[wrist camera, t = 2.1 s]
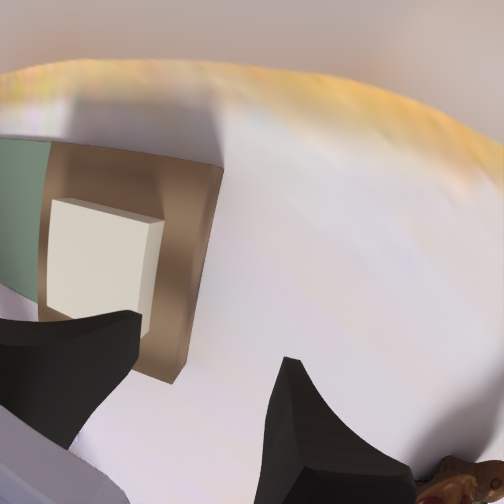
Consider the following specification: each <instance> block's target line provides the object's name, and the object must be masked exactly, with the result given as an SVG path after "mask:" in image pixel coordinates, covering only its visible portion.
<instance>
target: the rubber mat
mask: <svg viewBox="0 0 504 504" xmlns="http://www.w3.org/2000/svg"><path fill="white" fill-rule="evenodd" d="M50 147H51V142H40V141H28V140H15V139H0V283H1V284H3V285H5V286H6V287H8V288H10V289H12V290H13V291H15V292H17V293H19V294H21V295H23V296H24V297H26V298H28V299H30V300H32V301H34V302H36V303H38V292H37V268H38V241H39V227H40V215H41V205H42V197H43V189H44V182H45V175H46V169H47V163H48V158H49V152H50Z"/></svg>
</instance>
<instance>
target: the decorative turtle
mask: <svg viewBox="0 0 504 504" xmlns="http://www.w3.org/2000/svg"><path fill="white" fill-rule="evenodd" d="M415 485H416V488H417V493H418V497H417V500H416V503H415V504H488V503H492V502H495V501H498V500H500V499H501V498H503V497H504V461H501V460H489V461H484V462H479V463H467V462H464V461H461V460H459V459H457V458H455V457H452V456H448V457H445V458H444V459H443V460H442V461H441V463H440V464H439V467H438V469H437V471H436V473H435V475H434V477H433V478H432V480H431V481H430V482H421V481H416V482H415Z"/></svg>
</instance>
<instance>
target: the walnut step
mask: <svg viewBox="0 0 504 504" xmlns="http://www.w3.org/2000/svg"><path fill="white" fill-rule="evenodd" d="M223 173H224V169H222V168H219V167H216V166H213V165H209V164H204V163H199V162H194V161H188V160H183V159H177V158H171V157H166V156H160V155H153V154H147V153H141V152H134V151H128V150H121V149H113V148H106V147H98V146H90V145H81V144H72V143H63V142H53V141H52V142H51V147H50V152H49V158H48V163H47V169H46V175H45V182H44V189H43V197H42V205H41V215H40V227H39V241H38V268H37V292H38V319H39V322H51V321H64V320H71V319H73V318H71V317H69V316H67V315H65V314H63V313H61V312H59V311H56V310H54V309H52V308H50V307H48V306H47V257H48V240H49V227H50V216H51V207H52V199H64V198H75V199H79V200H83V201H87V202H91V203H95V204H100V205H104V206H108V207H112V208H116V209H120V210H124V211H128V212H133V213H137V214H141V215H145V216H149V217H153V218H157V219H161V220H165V222H164V228H163V233H162V239H161V245H160V251H159V258H158V264H157V271H156V278H155V285H154V292H153V300H152V308H151V316H150V325H149V331H148V332H147V333H146V334H145V335H144V336H143V337H142V338H141V339H140V348H139V358H138V360H137V361H136V363H135V364H134V366H133V368H132V370H135V371H137V372H140V373H142V374H145V375H148V376H150V377H153V378H155V379H158V380H161V381H164V382H166V383H169V384H173V382H174V381H175V379H176V378H177V376H178V375H179V373H180V372H181V370H182V369H183V367H184V366H185V364H186V361H187V355H188V349H189V343H190V337H191V331H192V325H193V320H194V314H195V309H196V303H197V298H198V292H199V287H200V282H201V277H202V271H203V266H204V261H205V256H206V251H207V246H208V241H209V237H210V232H211V227H212V222H213V218H214V213H215V208H216V204H217V199H218V195H219V190H220V186H221V181H222V177H223Z"/></svg>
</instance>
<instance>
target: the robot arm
mask: <svg viewBox="0 0 504 504" xmlns="http://www.w3.org/2000/svg"><path fill="white" fill-rule="evenodd" d="M142 316H143V314H140V313H137V312H135V311H132V310H121V311H115V312H110V313H105V314H100V315H95V316H90V317H84V318H78V319H71V320H64V321H51V322H31V321H15V320H8V319H1V318H0V504H130V502H129V500H128V498H127V496H126V494H125V492H124V491H123V490H122V489H121V488H120V487H119V486H117V485H116V484H115V483H114V482H113V481H112V480H111V479H110V478H109V477H108V476H107V475H105V474H104V473H102V472H101V471H99V470H98V469H96V468H95V467H93V466H92V465H90V464H89V463H87V462H86V461H84V460H82V459H81V458H79V457H77V456H75V455H74V454H72V453H70V452H68V451H67V450H68V449H69V447H70V445H71V444H72V442H75V443H78V441H79V438H78V433H79V431H80V430H81V428H82V427H83V425H84V424H85V423H86V421H87V420H88V418H89V417H90V416H91V414H92V413H93V412H94V411H95V409H96V408H97V407H98V406H99V405H100V404H101V403H102V402H103V401H104V400H105V399H106V398H107V396H108V395H109V394H110V393H111V392H112V391H113V390H114V389H115V388H116V387H117V386H118V385H119V384H120V383H121V381H122V380H123V379H124V378H125V377H126V376H127V375H128V373H129V372H130V370H131V369H132V368H133V366H134V364H135V363H136V361H137V360H138V358H139V348H140V336H141V326H142ZM417 497H418V493H417V488H416V485H415V481H414V478H413V475H412V472H411V469H410V467H409V466H407V465H405V464H403V463H401V462H399V461H397V460H395V459H393V458H391V457H389V456H387V455H385V454H384V453H382V452H381V451H379V450H377V449H376V448H374V447H373V446H371V445H370V444H368V443H367V442H366V441H364V440H363V439H362V438H360V437H359V436H358V435H357V434H356V433H354V432H353V431H352V430H351V429H350V428H349V427H347V426H346V425H345V424H344V423H343V422H342V421H341V420H340V418H339V417H338V416H337V415H336V414H335V413H334V412H333V411H332V410H331V408H330V407H329V406H328V405H327V403H326V402H325V401H324V399H323V398H322V397H321V395H320V394H319V392H318V391H317V389H316V387H315V386H314V384H313V383H312V381H311V379H310V377H309V375H308V374H307V372H306V370H305V368H304V366H303V364H302V363H301V361H300V360H297V359H293V358H289V357H284V358H283V361H282V364H281V367H280V370H279V373H278V376H277V379H276V382H275V385H274V388H273V391H272V394H271V397H270V400H269V405H268V410H267V414H266V419H265V429H264V442H263V454H262V465H261V472H260V478H259V482H258V487H257V491H256V496H255V500H254V504H415V503H416V500H417Z"/></svg>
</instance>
